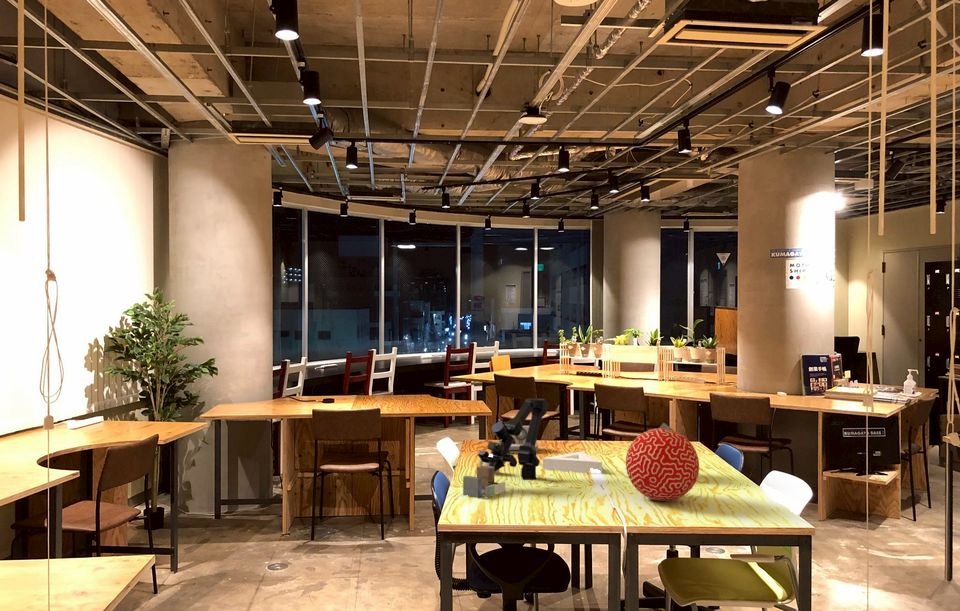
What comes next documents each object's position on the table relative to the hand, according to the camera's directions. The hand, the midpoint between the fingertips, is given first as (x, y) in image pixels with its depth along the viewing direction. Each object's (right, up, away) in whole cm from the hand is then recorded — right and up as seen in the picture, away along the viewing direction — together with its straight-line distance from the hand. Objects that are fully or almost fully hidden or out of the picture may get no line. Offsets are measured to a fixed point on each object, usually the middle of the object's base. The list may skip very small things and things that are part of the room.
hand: (489, 474), depth 318 cm
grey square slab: (-8, -7, -10) cm, 14 cm away
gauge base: (-1, -7, -4) cm, 8 cm away
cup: (0, -8, +36) cm, 37 cm away
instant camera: (+19, -10, +97) cm, 99 cm away
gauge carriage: (0, -5, -4) cm, 7 cm away
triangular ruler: (+46, -9, +52) cm, 70 cm away
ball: (+73, -7, -16) cm, 75 cm away
